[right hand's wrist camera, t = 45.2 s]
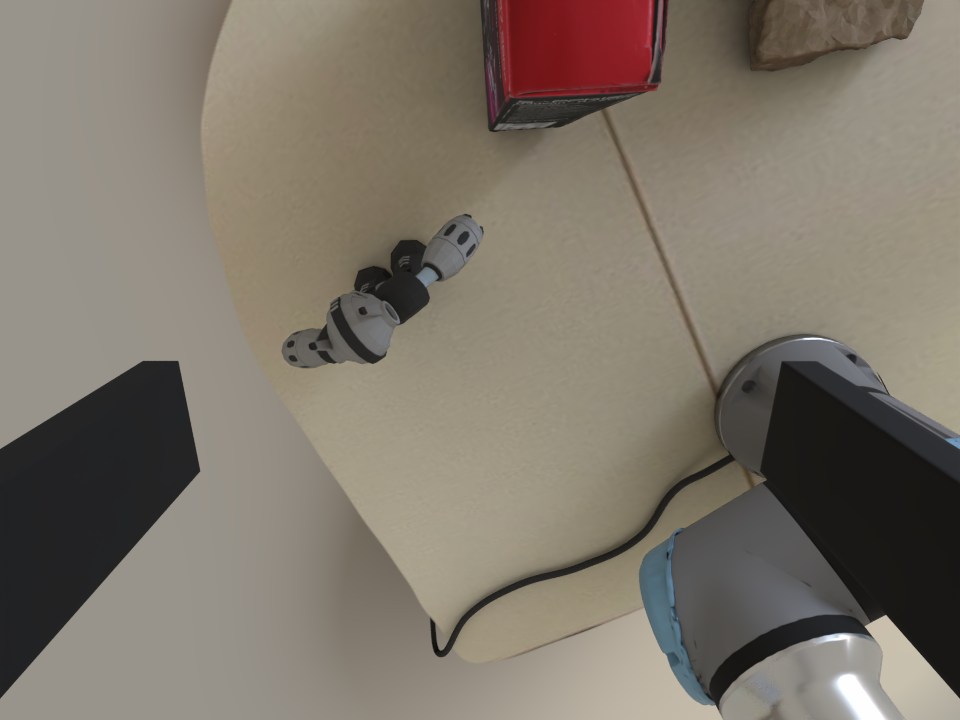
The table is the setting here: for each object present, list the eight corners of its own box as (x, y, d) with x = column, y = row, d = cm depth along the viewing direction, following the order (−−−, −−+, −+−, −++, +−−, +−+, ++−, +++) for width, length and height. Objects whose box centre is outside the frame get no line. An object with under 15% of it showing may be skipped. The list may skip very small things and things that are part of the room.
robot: (331, 352, 55) (254, 456, 36) (298, 313, 53) (200, 399, 35) (496, 237, 51) (506, 286, 32) (465, 191, 50) (457, 215, 31)
